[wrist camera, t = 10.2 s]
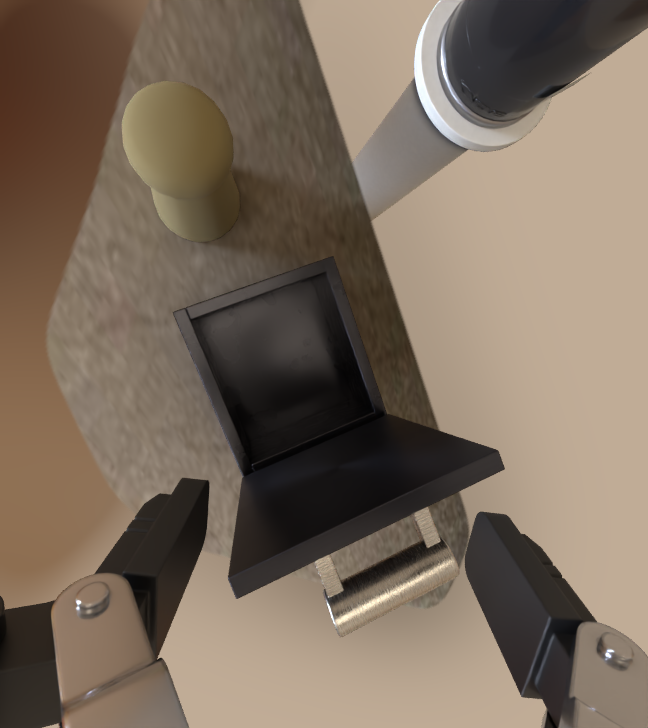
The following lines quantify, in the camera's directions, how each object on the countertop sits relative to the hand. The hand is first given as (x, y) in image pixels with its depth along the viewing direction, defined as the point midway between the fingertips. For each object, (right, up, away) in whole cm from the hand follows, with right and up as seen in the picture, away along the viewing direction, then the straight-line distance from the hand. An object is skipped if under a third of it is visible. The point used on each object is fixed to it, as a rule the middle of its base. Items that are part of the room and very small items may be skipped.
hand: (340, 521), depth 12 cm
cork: (-10, +17, +17) cm, 26 cm away
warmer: (-4, +5, +19) cm, 20 cm away
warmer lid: (0, -1, +8) cm, 8 cm away
